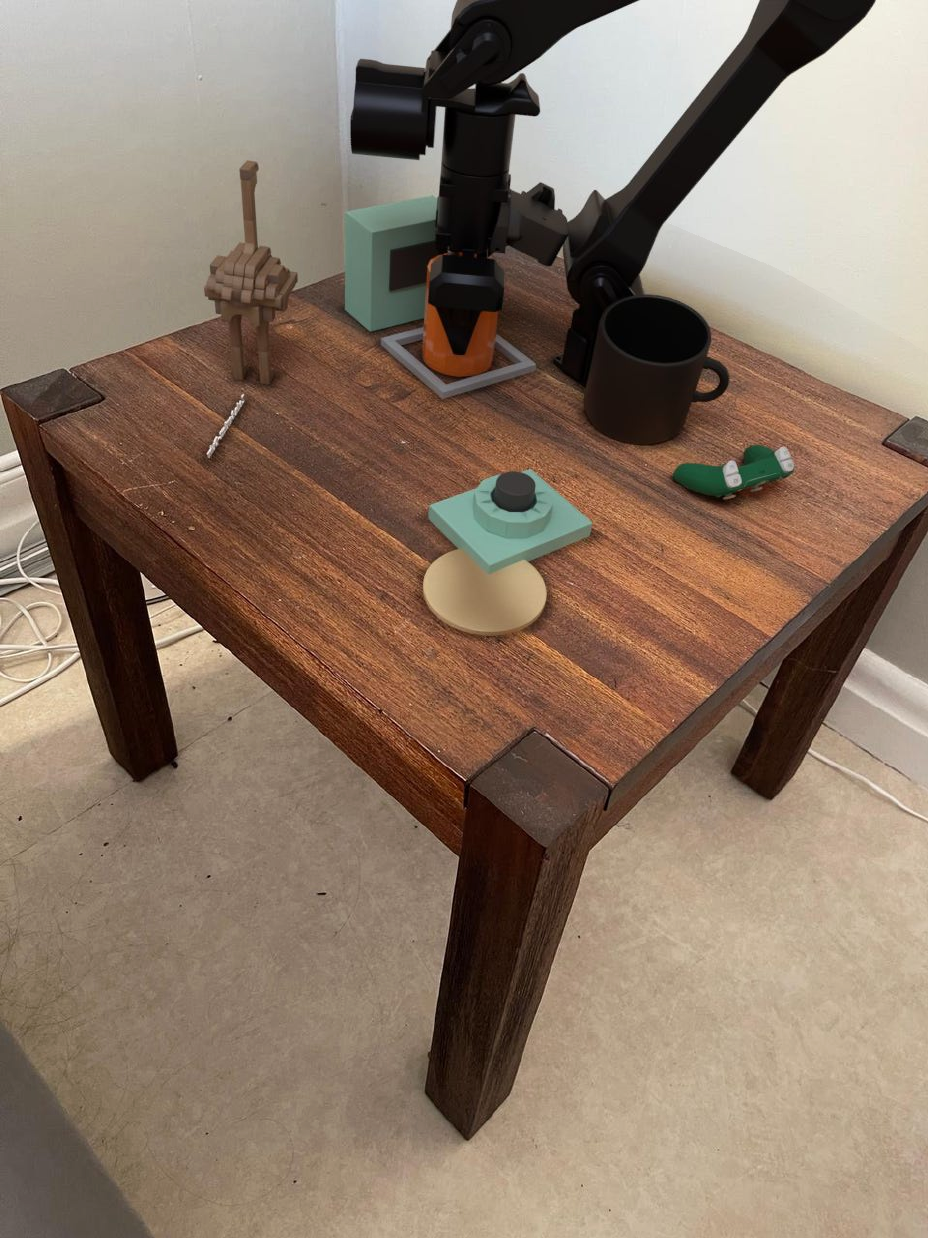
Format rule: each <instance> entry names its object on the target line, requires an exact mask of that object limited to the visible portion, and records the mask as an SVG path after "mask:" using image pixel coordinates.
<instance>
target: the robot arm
mask: <svg viewBox="0 0 928 1238" xmlns="http://www.w3.org/2000/svg"><path fill="white" fill-rule="evenodd" d="M639 1H640V0H456V1H455V4H454V8H453V10H452V13H451V22H450V29H449V30H448V31H447V33H446V34H445V35H444V36H443V38H441V41H440V42H439V43H438V44H437V45H436V47H435V48H434V49H433V50H431V52H430V54H429V56H428V57H427V59H426V61H425V67H419V66H418V67H417V66H409V65H398V64H390V63H383V62H381V61H378V60H375V59H367V58H359V59H358V60H357V63H356V66H355V83H354V93H353V107H352V111H351V115H350V119H349V120H350V122H349V123H350V124H349V125H350V127H349V131H350V132H349V133H350V135H349V136H350V137H349V138H350V149H351V150H350V151H351V154H353V155H361V156H369V157H371V156H372V157H379V158H380V157H381V158H391V159H392V158H393V159H402V160H413V161H420V160H421V156H426V154H427V148H429V149H434V148H435V139H436V125H437V111H438V110H437V109H438V108H437V107H439V108H444V116H443V118H444V119H443V120H444V121H443V134H442V149H441V161H440V162H441V163H440V174H439V186H438V187H439V189H438V196H437V197H436V198H437V208H436V221H435V227H437V230H436V235H435V245H436V248H437V252H438V255H441V254H446V253H448V255H441V256H440V257H439V258H438V259H436V260H435V261H434V262H433V263H432V264H431V270H430V280H429V295H428V303H429V304H431V305H432V306H434V307H435V308H436V310H437V313H438V315H439V318H440V320H441V323H442V325H443V328H444V331H445V333H446V336H447V339H448V341H449V344H450V347H451V349H452V352H453V354H455V355H465V353H466V351H467V348H468V345H469V342H470V340H471V337H472V334H473V331H474V329H475V326H476V323H477V321H478V318H479V316H480V313H481V312H482V311H487V312H497V311H499V312H500V311H501V310H503V304H504V296H505V270H504V269H503V268H502V265H500V263H498V261H496V259H495V258H490V257H491V256H492V255H493V254H494V253H495V254H506V248H507V245H508V246H509V247H511V248H512V249H514V250H515V251H517V252H520V253H523V255H527V256H528V257H531V258H533V259H536V260H537V263H538V264H541V265H543V266H545V267H552V266H553V264H554V262H555V261H556V259H557V257H558V256H559V253H560V251H561V249H562V256H563V257H562V258H563V266H564V273H565V280H566V288H567V289H566V290H567V292H568V294H569V296H570V297H571V299H572V300H573V301H574V302H575V303H576V304H577V305H578V307H577V308H574V309H573V310H572V316H571V320H570V327H568V328H567V331H566V336H565V341H564V348H563V353H560V354H557V355H555V356H553V357H552V363H553V364H554V365H555V366H557V367H558V368H559V369H561V370H562V371H563V372H565V373H566V374H567V375H568V376H570V377H571V378H572V379H574V380H575V381H577V382H578V383H579V384H580V385H582V387H584V388H586V385H587V380H588V375H589V371H590V366H591V361H592V356H593V351H594V347H595V342H596V337H597V332H598V327H599V322H600V319H601V316H602V314H603V312H604V311H605V309H606V308H607V307H608V306H609V305H611V304H612V303H613V302H615V301H617V300H619V299H621V298H624V297H628V296H633V295H642V294H645V290H644V286H643V282H642V278H641V273H642V271H643V270H644V267H645V266H646V264H647V261H648V259H649V256H650V254H651V252H652V249H653V247H654V245H655V242H656V240H657V237H658V235H659V232H660V230H661V229H662V227H663V225H664V224H665V223H666V222H667V220H669V218H670V217H671V216H672V214H674V212H675V211H676V210H677V208H678V207H679V206H680V205H681V203H682V202H683V201H684V200H686V197H688V195H689V194H690V193H691V191H692V190H693V189H695V187H696V186H697V184H698V183H699V182H700V181H701V180H702V179H703V178H704V177H705V175H706V174H707V173H708V172H709V170H710V169H711V168H712V166H714V164H716V162H717V161H718V160H719V158H721V156H722V155H723V154H724V153H725V151H726V150H727V149H728V148H729V146H730V145H731V144H732V143H733V142H734V140H735V139H736V138H737V137H738V136H739V134H740V133H741V132H742V131H743V129H744V128H745V127H746V126H747V125H748V124H749V123H750V121H751V120H752V119H753V118H754V117H755V115H757V113H758V112H759V111H760V109H761V108H762V107H763V106H764V104H765V103H766V102H767V101H768V100H769V99H770V98H771V96H772V95H773V94H774V93H775V91H776V90H777V89H778V88H779V87H780V85H781V84H782V83H783V82H784V81H785V80H786V79H788V77H789V76H791V75H792V74H794V73H795V72H797V71H799V70H800V69H802V68H803V67H805V66H807V65H808V64H810V63H812V62H813V61H815V60H817V59H819V58H820V57H822V56H823V55H825V54H826V53H827V52H829V51H830V50H831V49H832V48H834V46H836V44H838V43H839V42H840V41H842V39H843V38H844V37H846V35H847V34H849V33H850V32H851V31H852V30H853V29H854V28H855V27H856V26H857V25H859V24H860V23H861V22H862V21H863V20H864V19H865V18H866V17H867V15H868V14H869V12H870V11H871V10H872V8H873V6H874V5H875V3H876V1H877V0H758V3H757V6H756V8H755V10H754V12H753V15H752V18H751V20H750V22H749V24H748V27H747V30H746V31H745V33H744V35H743V36H742V38H741V40H740V41H739V42H738V44H737V45H736V46H735V47H734V49H732V52H731V53H730V54H729V55H728V56H727V57H726V59H725V60H724V61H723V63H722V64H721V66H720V67H718V69H717V70H716V72H715V73H714V74H713V75H712V77H711V78H710V79H709V81H708V82H707V83H706V84H705V85H704V86H703V88H702V89H701V90H700V92H699V93H698V94H697V96H696V97H695V98H694V100H693V101H692V102H691V103H690V105H689V106H688V107H687V108H686V110H685V111H684V112H683V114H682V115H681V116H680V117H679V119H678V120H677V121H676V123H674V125H673V126H672V128H671V129H670V130H669V131H668V133H667V134H666V135H665V136H664V138H663V139H662V140H661V141H660V143H659V144H658V145H657V147H656V148H655V149H654V150H653V151H652V153H651V154H650V155H649V157H648V158H647V159H645V161H644V163H643V164H642V165H641V166H640V168H639V169H638V170H637V172H636V173H635V174H634V176H633V177H632V178H631V179H630V180H629V182H628V183H627V184H626V185H625V186H624V187H623V188H621V189H620V190H619V191H617V192H615V193H613V194H612V195H611V196H608V197H607V198H604V197H603V195H602V194H601V193H600V192H599V191H598V190H597V189H593V190H592V192H591V193H590V194H589V196H588V197H587V199H586V201H585V202H584V205H583V207H582V209H581V210H580V211H579V212H578V213H577V215H575V216H574V217H573V218H572V219H570V220H569V221H568V218H567V217H566V215H565V214H563V209H562V208H559V207H558V209H556V193H555V188H554V187H551V186H550V185H548V184H546V183H544V182H541V181H540V182H538V183H537V184H536V185H535V186H533V187H532V188H531V189H529V190H528V191H527V192H526V191H525V190H521V192H517V191H515V190H513V189H512V188H511V182H512V174H511V173H510V166H511V158H512V149H513V140H514V132H515V123H516V116H523V117H524V116H526V117H538V116H540V113H541V104H540V96H539V94H538V93H537V92H535V90H534V89H533V87H531V85H530V84H529V82H528V80H527V76H526V74H525V73H524V72H521V71H523V70H524V69H525V68H527V67H528V66H530V65H531V64H532V63H534V62H535V61H537V60H538V59H541V57H543V55H545V53H547V52H548V51H549V50H550V49H551V48H553V47H554V45H556V44H557V43H558V42H559V41H561V40H562V39H563V38H564V37H566V36H567V35H568V34H570V33H572V32H573V31H575V30H576V29H578V28H580V27H583V26H584V25H587V24H589V23H591V22H594V21H596V20H598V19H600V18H602V17H605V16H607V15H609V14H612V13H615V12H616V11H619V10H621V9H623V8H625V7H628V6H630V5H632V4H634V3H637V2H639ZM520 72H521V73H520ZM518 73H519V74H518ZM516 74H518V75H517V76H516V77H515V78H514V79H513V80H511V81H510V82H506V81H508V80H509V79H510V78H512V77H513V76H515V75H516ZM473 86H474V88H472V87H473ZM459 252H461V253H462V256H459ZM474 254H476V258H475V257H474ZM488 258H490V259H488Z"/></svg>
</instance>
